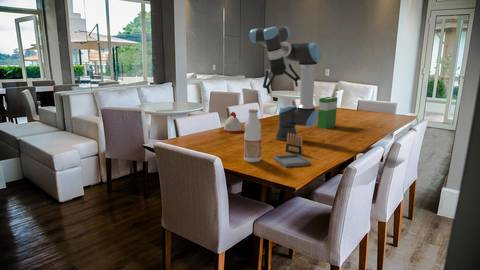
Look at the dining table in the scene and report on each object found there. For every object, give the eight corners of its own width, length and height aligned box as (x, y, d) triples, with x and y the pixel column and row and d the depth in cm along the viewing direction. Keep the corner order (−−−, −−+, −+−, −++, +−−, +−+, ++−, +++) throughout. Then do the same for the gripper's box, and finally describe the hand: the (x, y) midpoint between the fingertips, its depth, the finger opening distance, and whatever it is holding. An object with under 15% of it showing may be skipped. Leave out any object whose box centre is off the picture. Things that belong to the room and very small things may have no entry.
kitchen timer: (229, 133, 244) (229, 114, 241) (220, 130, 255) (220, 111, 252) (245, 131, 251) (245, 112, 248) (235, 128, 263) (235, 110, 259)
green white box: (327, 124, 282) (329, 96, 276) (335, 125, 277) (337, 97, 272) (317, 127, 269) (319, 98, 263) (325, 129, 264) (327, 99, 259)
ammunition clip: (302, 154, 193) (303, 134, 191) (301, 154, 192) (302, 134, 189) (287, 150, 200) (288, 131, 197) (285, 151, 199) (286, 132, 196)
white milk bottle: (240, 158, 183) (241, 109, 177) (255, 156, 188) (256, 108, 181) (249, 163, 175) (249, 111, 169) (264, 161, 179) (265, 110, 173)
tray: (297, 157, 187) (297, 153, 187) (310, 164, 174) (310, 161, 173) (273, 159, 182) (273, 156, 182) (285, 167, 169) (285, 163, 169)
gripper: (253, 65, 169) (262, 103, 177) (300, 52, 168) (307, 91, 176) (252, 62, 176) (261, 99, 184) (297, 50, 175) (304, 88, 183)
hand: (284, 95), depth 180 cm, fingers open, 13 cm apart
